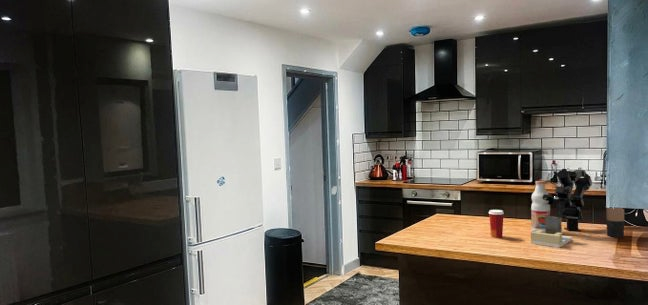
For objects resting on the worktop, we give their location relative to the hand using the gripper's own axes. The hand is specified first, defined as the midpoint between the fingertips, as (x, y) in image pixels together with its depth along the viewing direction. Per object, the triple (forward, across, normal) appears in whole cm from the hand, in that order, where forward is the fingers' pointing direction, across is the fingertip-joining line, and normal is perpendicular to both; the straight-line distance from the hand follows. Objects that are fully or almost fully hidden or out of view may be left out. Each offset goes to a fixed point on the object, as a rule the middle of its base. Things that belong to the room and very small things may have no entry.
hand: (559, 213), depth 227 cm
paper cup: (+22, -26, -4) cm, 34 cm away
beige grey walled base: (+17, 0, +1) cm, 17 cm away
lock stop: (+14, 0, +2) cm, 14 cm away
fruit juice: (+3, -12, +15) cm, 19 cm away
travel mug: (-4, +21, +22) cm, 31 cm away
